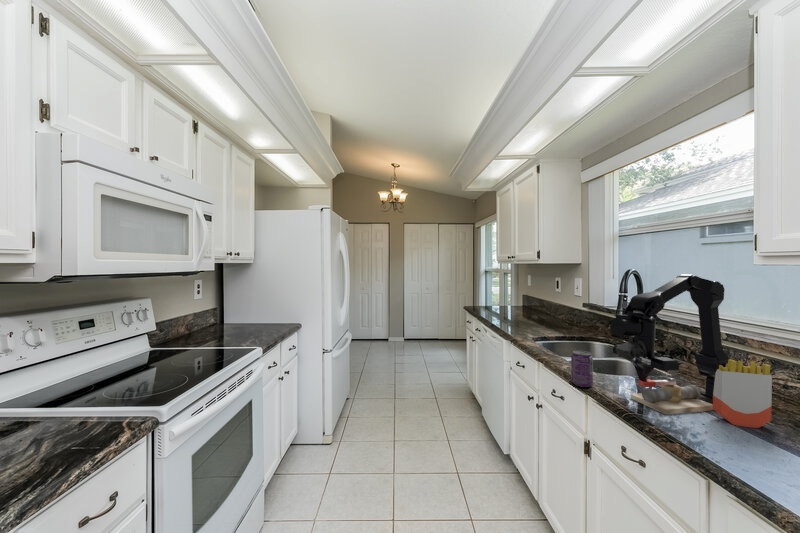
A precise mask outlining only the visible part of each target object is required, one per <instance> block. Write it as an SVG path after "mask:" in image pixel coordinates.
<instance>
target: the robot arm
mask: <svg viewBox="0 0 800 533" xmlns="http://www.w3.org/2000/svg"><path fill="white" fill-rule="evenodd" d="M684 292H688V293H689V295H690V299H691V300H692V302H693V303H694V305H696V307H697V309H698V320H699V330H700V341H701V349H700V350H699V352H698V353H695V354H694V358H695V363H694V365H696V367H697V370H698V373H699V376H701V377H702V376H703V377H705V384H704V385H705V386H704V388H705V389H704V391H700V395H703V396H705V397H706V396H707V397H710V398H712V399H713V391H714V382H715V373H716V371H717V369H719V365H722V366H723V367H726V363H727V364H728V359H729V360H731V359H730V357H729V356H728V355H727V353H726V352H725V351H724V349H723V345H722V344H723V343H722V342H723V341H722V336H721V335H722V334H721V333H722V332H721V323H720V314H719V306H720V305H721V304H722V302H723V301H724V299H725V286H724V284H722V283H721V282H719V281H715V280H710V279H708V278H707V279H706V278H702V277H700V276H697V275H694V274H680V275H677V276H676V277H675V278H673V279H672V280H670V281H669V282H666V283H665V284H663V285H661V286H660V287H657V288H656V289H654V290H653V291H650V292H648V291H647V292H643V293H639V294H636V295H634V296H632V297H631V298H630V301H629V303H628V304H627V306H626V307H625V309H624V310H623V311H622V314H621V313H616V314H615V318H613V319H612V320H611V322H610V324H609V327H610V331H611V332H612V334H614V336H616V337H629V338H628V341H627V342H623V343H620V344H615V345H614V346H612V354H615V355H617V356H618V357H619V358H622V359H625V360H626V361H628V362H629V363H631V364H632V365H633V366H634V370H635V371H636V374H637V376H638V381H639V380H643V379H648V377H649V375H650V374H651V373H652V372H653V370H654V369H657V370H659V371H664V372H665V371H667V372H668V371H679V368H680V364H679V361H678V360H677V359H674V358H673V359H672V358H670V357H667V356H659V357H658V355H659V353H658V351H656V350H655V348H656V344H659V339H657V338H656V328H657V327H656V326H657V325H656V324H657V323H656V322H658V323H659V322H662V319H661V318H660V317H659V316H658V315H657V314H659V313H660V312H661V311H662V310H664V309H665V305H666V303H667V302H669V301H671V300H672V299H675V298H676V297H678V296H679V295H682V294H683V293H684Z"/></svg>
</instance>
